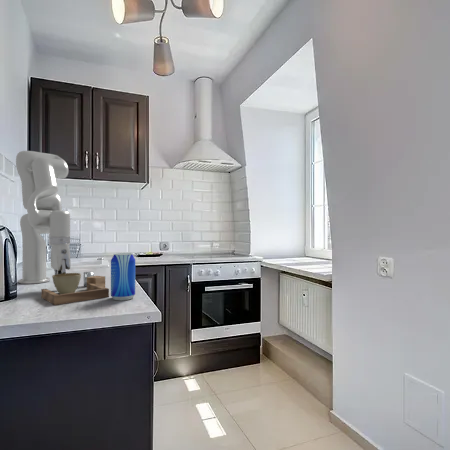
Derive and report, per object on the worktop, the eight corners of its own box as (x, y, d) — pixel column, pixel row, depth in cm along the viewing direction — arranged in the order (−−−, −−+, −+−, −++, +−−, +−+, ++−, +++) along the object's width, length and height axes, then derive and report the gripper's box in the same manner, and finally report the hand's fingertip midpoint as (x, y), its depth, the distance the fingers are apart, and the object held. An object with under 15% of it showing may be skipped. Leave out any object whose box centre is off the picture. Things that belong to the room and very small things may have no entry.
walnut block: (86, 289, 135) (86, 277, 135) (96, 287, 139) (96, 275, 139) (95, 290, 132) (95, 278, 132) (105, 288, 137) (105, 276, 137)
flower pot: (73, 289, 133) (73, 272, 133) (86, 292, 127) (86, 274, 127) (47, 293, 126) (47, 274, 126) (59, 297, 119) (59, 277, 119)
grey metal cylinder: (82, 286, 142) (82, 272, 142) (91, 285, 144) (91, 271, 144) (85, 287, 139) (85, 273, 139) (95, 286, 141) (95, 272, 141)
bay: (41, 297, 119) (41, 289, 119) (91, 290, 131) (91, 283, 132) (54, 305, 108) (54, 296, 108) (108, 296, 120) (108, 288, 120)
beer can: (110, 296, 121) (110, 253, 121) (134, 295, 124) (134, 252, 124) (111, 301, 113) (111, 254, 113) (136, 299, 116) (136, 254, 116)
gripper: (76, 241, 129) (76, 288, 129) (63, 240, 140) (63, 283, 140) (55, 242, 124) (55, 291, 124) (44, 240, 135) (43, 285, 135)
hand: (59, 286), depth 132 cm, fingers closed
